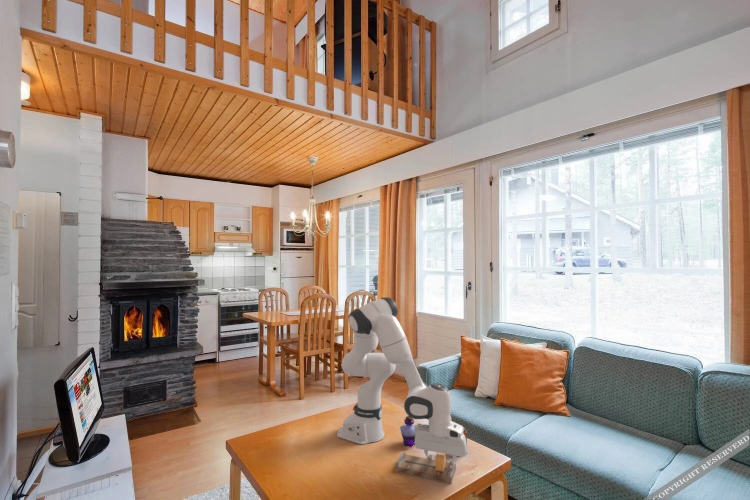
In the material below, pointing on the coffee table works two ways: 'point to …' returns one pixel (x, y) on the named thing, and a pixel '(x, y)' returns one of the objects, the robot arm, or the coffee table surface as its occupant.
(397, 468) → the fader board
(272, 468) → the coffee table surface
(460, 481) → the coffee table surface
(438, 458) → the fader knob
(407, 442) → the potion bottle
